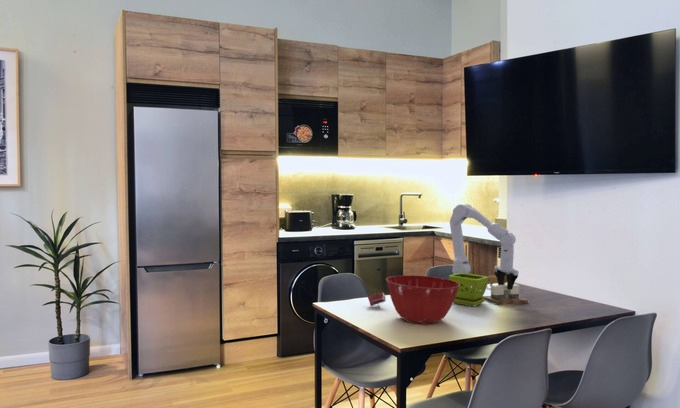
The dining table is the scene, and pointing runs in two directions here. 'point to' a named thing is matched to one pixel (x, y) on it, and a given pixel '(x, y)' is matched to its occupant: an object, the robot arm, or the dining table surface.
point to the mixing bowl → (422, 297)
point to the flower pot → (469, 288)
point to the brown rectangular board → (505, 299)
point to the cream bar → (500, 289)
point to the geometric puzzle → (377, 298)
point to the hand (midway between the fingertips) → (505, 288)
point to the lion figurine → (495, 279)
